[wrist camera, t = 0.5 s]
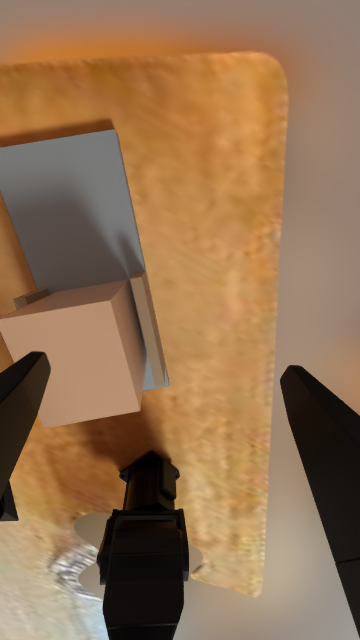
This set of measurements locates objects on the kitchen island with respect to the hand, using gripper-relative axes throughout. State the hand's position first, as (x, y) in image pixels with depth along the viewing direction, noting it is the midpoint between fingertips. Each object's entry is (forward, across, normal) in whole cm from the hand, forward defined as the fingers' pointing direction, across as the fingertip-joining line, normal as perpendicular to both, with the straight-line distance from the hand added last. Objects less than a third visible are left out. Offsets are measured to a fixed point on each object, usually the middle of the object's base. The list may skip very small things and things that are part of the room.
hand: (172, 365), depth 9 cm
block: (+14, +6, +10) cm, 18 cm away
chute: (+16, +7, +7) cm, 19 cm away
